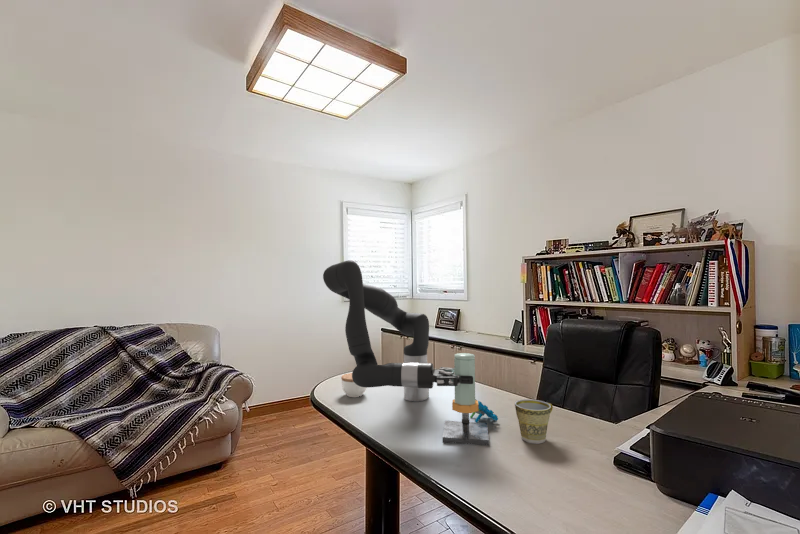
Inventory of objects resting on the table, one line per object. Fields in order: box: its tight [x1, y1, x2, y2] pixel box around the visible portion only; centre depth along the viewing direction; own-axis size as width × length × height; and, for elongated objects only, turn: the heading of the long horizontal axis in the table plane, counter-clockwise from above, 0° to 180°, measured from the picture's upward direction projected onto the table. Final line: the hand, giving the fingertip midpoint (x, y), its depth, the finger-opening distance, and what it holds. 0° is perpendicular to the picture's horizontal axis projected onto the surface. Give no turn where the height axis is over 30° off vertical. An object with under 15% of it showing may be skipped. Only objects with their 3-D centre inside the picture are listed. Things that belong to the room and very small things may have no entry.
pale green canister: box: [453, 352, 476, 405], centre depth 118 cm, size 6×6×14 cm
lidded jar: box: [340, 372, 368, 398], centre depth 158 cm, size 11×11×9 cm
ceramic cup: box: [514, 398, 554, 445], centre depth 115 cm, size 13×10×10 cm
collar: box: [451, 398, 479, 414], centre depth 117 cm, size 8×8×2 cm
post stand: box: [442, 413, 490, 446], centre depth 117 cm, size 13×13×18 cm
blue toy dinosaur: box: [469, 398, 499, 423], centre depth 128 cm, size 11×6×10 cm
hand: (472, 377), depth 117 cm, fingers closed on pale green canister, 6 cm apart
